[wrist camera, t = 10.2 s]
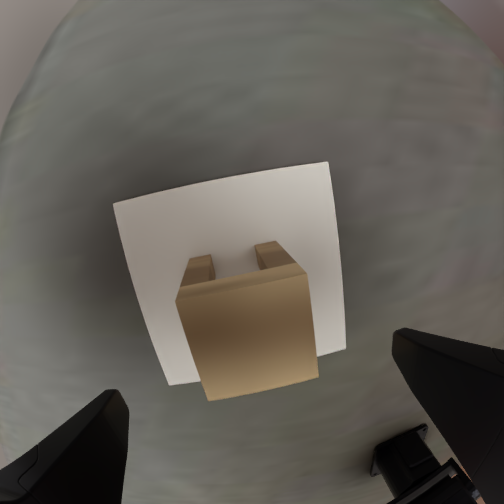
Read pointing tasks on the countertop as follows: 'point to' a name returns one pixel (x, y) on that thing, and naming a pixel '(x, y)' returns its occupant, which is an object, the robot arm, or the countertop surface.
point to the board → (232, 248)
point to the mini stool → (249, 324)
